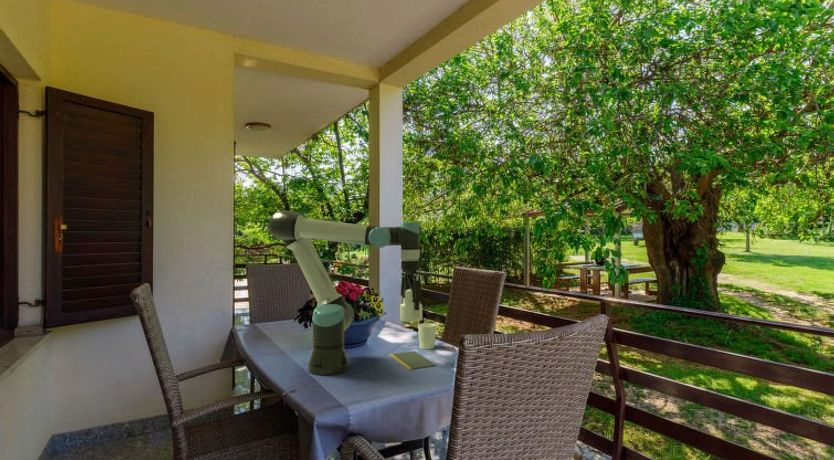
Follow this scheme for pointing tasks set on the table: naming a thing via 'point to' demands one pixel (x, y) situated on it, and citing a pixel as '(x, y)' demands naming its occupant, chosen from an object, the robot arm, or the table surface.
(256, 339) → the table surface
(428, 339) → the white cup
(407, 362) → the mat
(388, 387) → the table surface
